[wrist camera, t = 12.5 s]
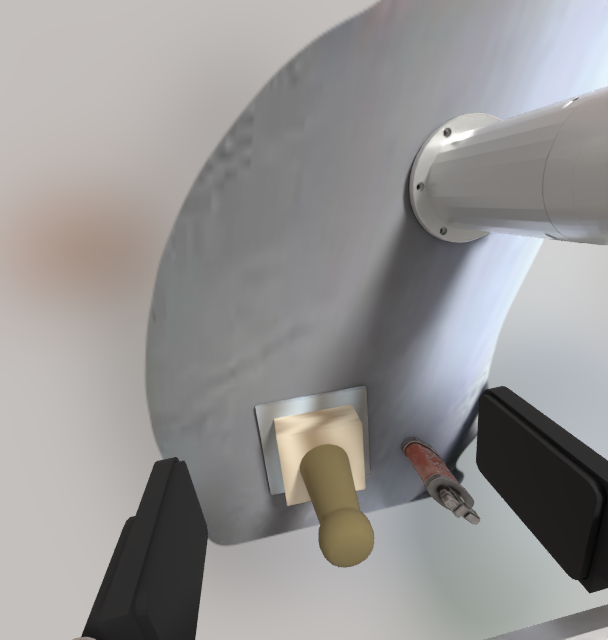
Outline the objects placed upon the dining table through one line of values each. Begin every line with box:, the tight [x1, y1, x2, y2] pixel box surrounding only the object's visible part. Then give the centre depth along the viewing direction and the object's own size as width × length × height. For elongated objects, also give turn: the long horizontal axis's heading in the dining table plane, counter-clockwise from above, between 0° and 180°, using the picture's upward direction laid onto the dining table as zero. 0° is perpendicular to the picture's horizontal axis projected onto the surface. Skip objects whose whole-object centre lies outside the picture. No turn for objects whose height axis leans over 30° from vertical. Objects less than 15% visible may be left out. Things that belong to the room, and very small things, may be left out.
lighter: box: [401, 437, 480, 525], centre depth 44 cm, size 8×3×10 cm, turn 49°
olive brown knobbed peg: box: [300, 444, 374, 567], centre depth 35 cm, size 6×6×11 cm
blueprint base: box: [255, 386, 370, 506], centre depth 42 cm, size 14×14×5 cm
